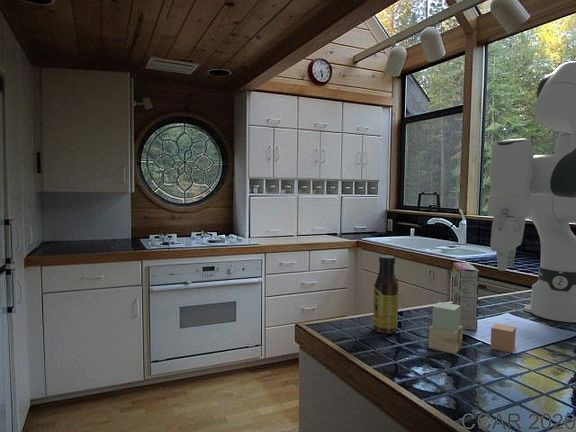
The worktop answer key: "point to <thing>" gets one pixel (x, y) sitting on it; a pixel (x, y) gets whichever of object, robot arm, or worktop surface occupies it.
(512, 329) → the terracotta cube
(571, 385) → the worktop surface
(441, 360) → the worktop surface
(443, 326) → the sage cube
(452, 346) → the beige block
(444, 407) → the worktop surface
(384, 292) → the sauce bottle
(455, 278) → the candy bar box
